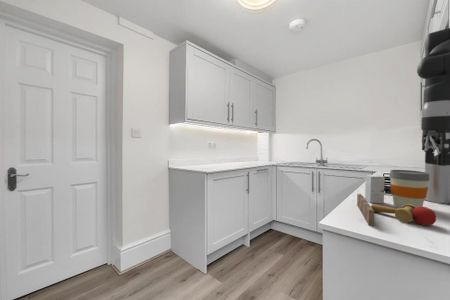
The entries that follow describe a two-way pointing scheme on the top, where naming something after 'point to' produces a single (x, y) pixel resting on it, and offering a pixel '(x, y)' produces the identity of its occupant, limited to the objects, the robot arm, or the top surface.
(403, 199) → the reusable coffee cup
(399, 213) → the kendama
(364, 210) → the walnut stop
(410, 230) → the top surface
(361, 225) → the top surface
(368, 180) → the skincare box
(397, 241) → the top surface
